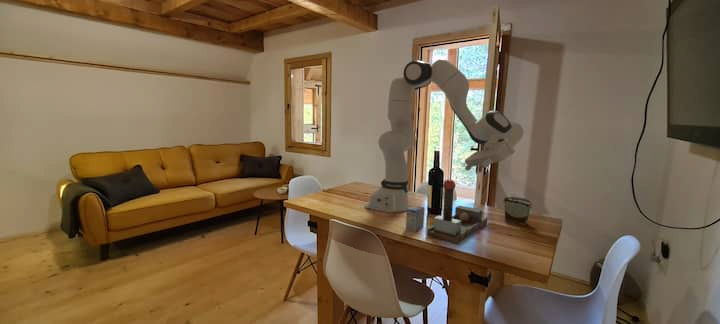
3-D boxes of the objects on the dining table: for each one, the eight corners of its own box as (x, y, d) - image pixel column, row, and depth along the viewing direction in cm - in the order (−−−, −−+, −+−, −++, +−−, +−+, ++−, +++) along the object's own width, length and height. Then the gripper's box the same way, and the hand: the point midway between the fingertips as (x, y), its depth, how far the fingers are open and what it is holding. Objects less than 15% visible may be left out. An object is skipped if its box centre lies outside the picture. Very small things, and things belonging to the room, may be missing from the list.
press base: (456, 244, 111) (458, 226, 110) (427, 236, 119) (427, 218, 118) (487, 224, 134) (488, 208, 133) (460, 218, 141) (461, 203, 140)
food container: (536, 223, 136) (538, 201, 134) (528, 226, 132) (531, 203, 131) (509, 216, 146) (511, 195, 144) (501, 218, 142) (503, 197, 141)
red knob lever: (455, 236, 113) (458, 182, 111) (433, 230, 119) (435, 178, 116) (460, 233, 117) (463, 180, 114) (438, 227, 123) (441, 177, 120)
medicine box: (414, 224, 132) (414, 204, 131) (423, 226, 130) (424, 206, 129) (405, 229, 126) (406, 208, 125) (415, 232, 124) (416, 210, 122)
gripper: (474, 147, 139) (454, 164, 134) (510, 137, 120) (488, 157, 115) (481, 159, 139) (462, 176, 134) (518, 151, 120) (497, 171, 115)
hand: (474, 167), depth 124 cm, fingers open, 8 cm apart
